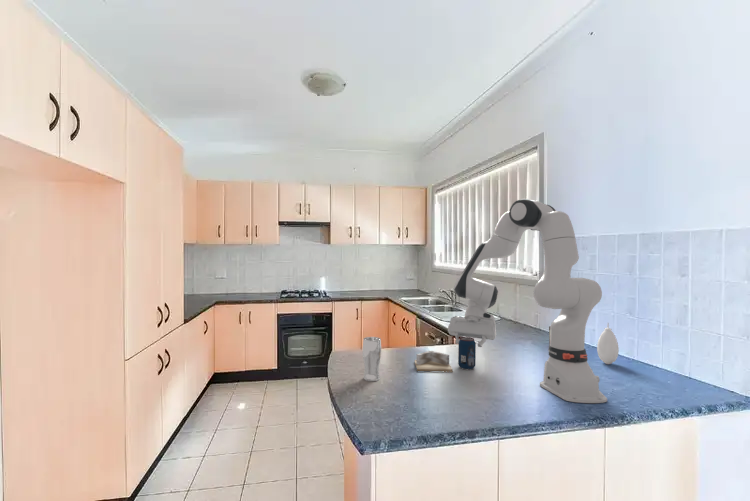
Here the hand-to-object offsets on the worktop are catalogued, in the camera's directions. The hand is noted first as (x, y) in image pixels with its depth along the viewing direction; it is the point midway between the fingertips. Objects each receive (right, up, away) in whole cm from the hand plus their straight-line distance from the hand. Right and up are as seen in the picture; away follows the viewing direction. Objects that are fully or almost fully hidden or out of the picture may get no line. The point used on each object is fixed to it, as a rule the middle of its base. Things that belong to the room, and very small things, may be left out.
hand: (468, 344), depth 162 cm
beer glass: (-40, -9, -17) cm, 45 cm away
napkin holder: (-15, -9, -2) cm, 18 cm away
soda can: (-1, -9, -2) cm, 9 cm away
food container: (+52, -10, +31) cm, 62 cm away
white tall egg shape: (+62, -10, +6) cm, 63 cm away
